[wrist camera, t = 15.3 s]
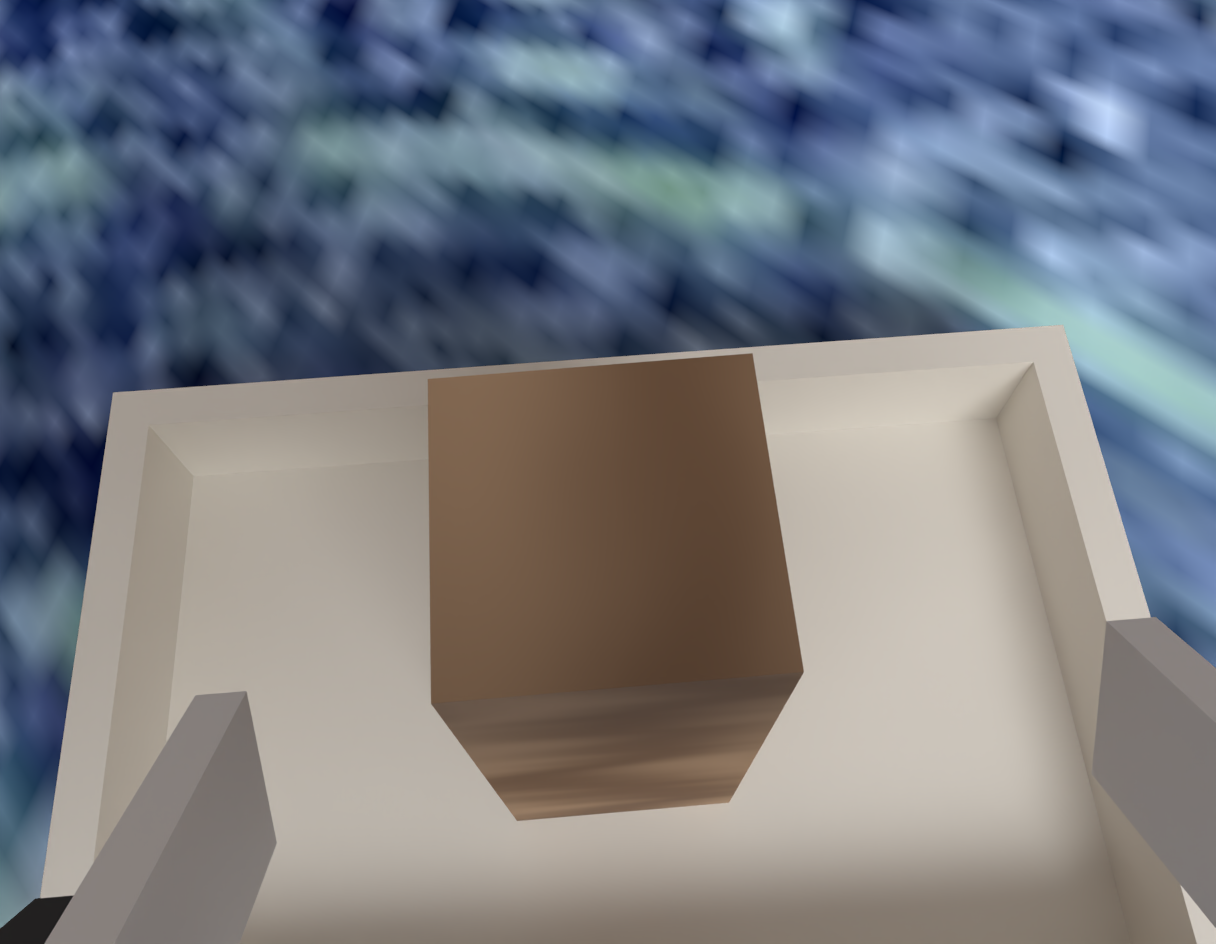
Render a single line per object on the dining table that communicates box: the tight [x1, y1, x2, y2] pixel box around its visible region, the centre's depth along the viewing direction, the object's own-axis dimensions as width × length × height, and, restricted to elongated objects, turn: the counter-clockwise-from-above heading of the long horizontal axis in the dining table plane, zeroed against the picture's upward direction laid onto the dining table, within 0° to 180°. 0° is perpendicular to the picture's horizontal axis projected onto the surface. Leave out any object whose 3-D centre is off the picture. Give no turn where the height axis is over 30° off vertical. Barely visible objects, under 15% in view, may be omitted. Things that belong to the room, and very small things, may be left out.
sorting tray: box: [40, 325, 1216, 944], centre depth 25 cm, size 24×16×4 cm, turn 94°
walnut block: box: [428, 353, 804, 821], centre depth 21 cm, size 5×5×12 cm
